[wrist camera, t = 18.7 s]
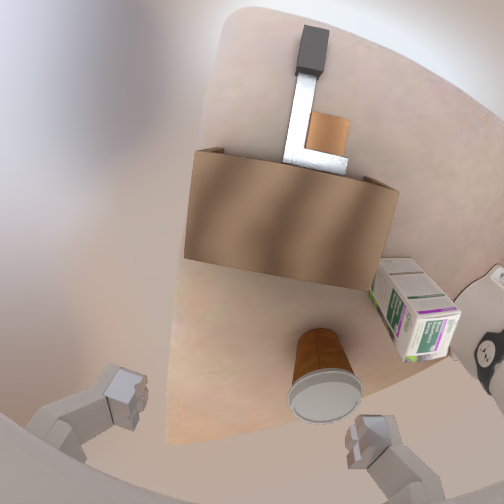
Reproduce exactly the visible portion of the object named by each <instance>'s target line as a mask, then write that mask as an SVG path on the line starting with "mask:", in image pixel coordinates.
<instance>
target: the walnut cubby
mask: <svg viewBox="0 0 504 504" xmlns="http://www.w3.org/2000/svg"><path fill="white" fill-rule="evenodd" d="M223 152H224V149H223V148H210V149H204V150H198V151H195V156H194V163H193V171H192V179H191V188H190V197H189V207H188V217H187V227H186V239H185V251H184V258H185V259H191V260H196V261H201V262H206V263H211V264H217V265H222V266H227V267H233V268H238V269H243V270H249V271H254V272H260V273H265V274H271V275H276V276H282V277H287V278H293V279H299V280H304V281H310V282H316V283H321V284H327V285H333V286H339V287H345V288H351V289H357V290H363V291H369V290H370V288H371V285H372V282H373V279H374V276H375V273H376V270H377V267H378V264H379V261H380V258H381V255H382V252H383V249H384V246H385V243H386V239H387V236H388V233H389V229H390V226H391V222H392V219H393V215H394V211H395V208H396V204H397V200H398V196H399V192H398V191H396V190H395V189H393V188H391V187H389V186H387V185H385V184H382V183H380V182H378V181H376V180H374V179H372V178H369V177H365V176H364V181H360V180H356V179H352V178H348V177H344V176H339V175H335V174H331V173H326V172H322V171H317V170H312V169H308V168H303V167H298V166H293V165H288V164H282V163H277V162H272V161H266V160H260V159H254V158H248V157H242V156H235V155H228V154H223Z"/></svg>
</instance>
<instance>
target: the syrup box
mask: <svg viewBox="0 0 504 504" xmlns="http://www.w3.org/2000/svg"><path fill="white" fill-rule="evenodd" d="M369 296H370V298H371V299H372V301H373V303H374V305H375V307H376V309H377V311H378V313H379V315H380V317H381V319H382V321H383V323H384V325H385V327H386V329H387V331H388V333H389V335H390V337H391V339H392V341H393V343H394V345H395V347H396V349H397V351H398V353H399V355H400V357H401V359H402V361H403V362H419V361H427V360H432V359H436V358H440V357H445V356H446V355H447V352H448V348H449V345H450V343H451V341H452V338H453V336H454V333H455V331H456V328H457V325H458V322H459V319H460V316H461V313H462V312H461V310H460V309H459V308H458V307H457V306H456V305H455V303H454V302H453V301H452V300H451V299H450V298H449V297H448V296H447V295H446V293H445V292H444V291H443V290H442V289H441V288H440V287H439V286H438V285H437V284H436V283H435V282H434V281H433V280H432V278H430V276H429V275H428V274H427V273H426V272H425V271H424V270H423V269H422V268H421V267H420V266H419V265H418V264H417V263H416V262H415V261H414V260H413V259H412V258H380V261H379V264H378V267H377V270H376V273H375V276H374V279H373V282H372V285H371V288H370V293H369Z"/></svg>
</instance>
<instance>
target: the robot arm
mask: <svg viewBox="0 0 504 504" xmlns="http://www.w3.org/2000/svg"><path fill="white" fill-rule="evenodd" d="M454 303H455V305H456V306H457V307H458V308H459V309H460V310H461V312H462V313H461V316H460V319H459V322H458V325H457V328H456V331H455V333H454V336H453V338H452V341H451V343H450V345H449V347H450V356H451V358H452V359H453V360H454V361H458V360H459V361H460V362H461V363H462V365H463V366H464V367H465V369H466V370H467V371H468V373H469V374H470V375H471V376H472V377H473V378H474V379H479V381H480V382H481V385H482V387H483V388H484V390H486V392H487V393H488V394H489V395H491V396H493V398H494V400H495V402H496V403H497V405H498V407H499V409H500V411H501V412H502V414H503V416H504V267H502V266H501V265H499V264H497V265H495V266H494V267H493V268H492V269H491V270H490V271H489V272H488V273H487V274H486V275H485V276H484V277H482V278H481V279H479V280H477V281H475V282H474V283H472V284H471V285H470V286H468V287H467V288H466V289H465V290H464V291H463V292H462V293H461V294H460V295H459V297H458V298H457V299H456V300H455V302H454ZM147 382H148V381H147V376H145V375H142V374H140V373H137V372H134V371H131V370H128V369H126V368H124V367H120V366H118V365H115V364H113V363H110V364H109V365H107V367H106V368H105V370H104V371H103V372H102V374H101V375H100V377H99V378H98V380H97V381H96V382H95V384H94V386H93V387H92V388H91V390H89V389H85V390H83V391H80V392H78V393H75V394H73V395H70V396H68V397H65V398H63V399H60V400H57V401H55V402H52V403H50V404H47V405H44V406H42V407H40V408H39V409H38V411H37V412H36V413H35V415H34V416H33V417H32V419H31V420H30V421H29V423H28V424H27V425H26V427H25V428H22V427H21V426H19V425H18V424H16V423H15V422H13V421H12V420H11V419H9V418H8V417H6V416H5V415H4V414H3V413H1V412H0V504H197V503H193V502H189V501H185V500H181V499H177V498H173V497H170V496H167V495H163V494H160V493H157V492H154V491H151V490H148V489H145V488H142V487H139V486H136V485H133V484H131V483H128V482H126V481H123V480H120V479H118V478H116V477H113V476H111V475H108V474H106V473H104V472H101V471H99V470H97V469H95V468H93V467H91V466H88V465H86V464H85V461H86V460H87V457H86V455H85V453H84V451H83V449H82V447H81V445H82V444H84V443H85V442H87V441H89V440H90V439H92V438H94V437H96V436H97V435H99V434H100V433H102V432H104V431H105V430H107V429H109V428H110V427H112V426H113V424H114V425H117V426H120V427H122V428H125V429H128V430H131V431H134V430H135V427H136V425H137V423H138V421H139V413H140V412H142V411H144V408H145V406H146V403H147V400H148V389H147V387H146V384H147ZM345 447H346V448H347V449H348V450H349V453H348V455H347V464H348V469H367V471H368V473H369V474H370V475H371V477H372V478H373V479H374V481H375V482H376V484H377V485H378V486H379V488H380V489H381V490H382V492H383V493H384V494H385V495H386V497H387V498H388V501H386V502H385V503H383V504H504V481H500V482H497V483H495V484H493V485H490V486H487V487H485V488H482V489H479V490H476V491H474V492H470V493H467V494H465V495H461V496H458V497H455V498H452V499H448V500H445V496H444V492H443V488H442V484H441V481H440V477H439V476H438V475H437V474H436V473H435V472H434V471H433V470H432V469H430V468H429V467H428V466H427V465H426V464H425V463H424V462H423V461H422V460H421V459H420V458H419V457H418V456H417V455H415V454H414V453H413V452H412V451H411V450H410V449H409V448H408V447H407V446H403V443H402V440H401V436H400V432H399V429H398V426H397V422H396V419H395V417H394V416H393V415H359V416H357V417H356V419H355V424H354V425H352V426H350V427H349V429H348V431H347V433H346V437H345Z"/></svg>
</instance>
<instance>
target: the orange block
mask: <svg viewBox="0 0 504 504" xmlns="http://www.w3.org/2000/svg"><path fill="white" fill-rule="evenodd" d="M349 122H350V120H346V119H342V118H338V117H334V116H330V115H326V114H321V113H317V112H311V113H310V118H309V124H308V129H307V135H306V140H305V146H304V148H307V149H312V150H317V151H321V152H326V153H330V154H335V155H339V156H343V154H344V149H345V144H346V139H347V133H348V128H349Z"/></svg>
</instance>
